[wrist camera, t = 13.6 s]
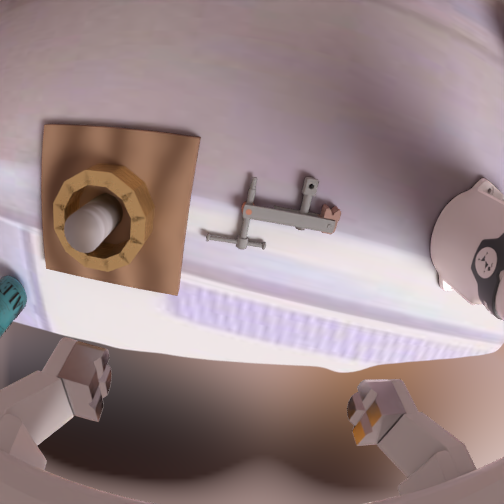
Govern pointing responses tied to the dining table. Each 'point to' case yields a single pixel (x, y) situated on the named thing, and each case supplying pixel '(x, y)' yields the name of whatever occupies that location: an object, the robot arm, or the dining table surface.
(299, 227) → the clamp
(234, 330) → the dining table surface
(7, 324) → the beverage bottle
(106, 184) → the wooden ring
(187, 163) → the piston stand
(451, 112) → the dining table surface
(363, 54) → the dining table surface
